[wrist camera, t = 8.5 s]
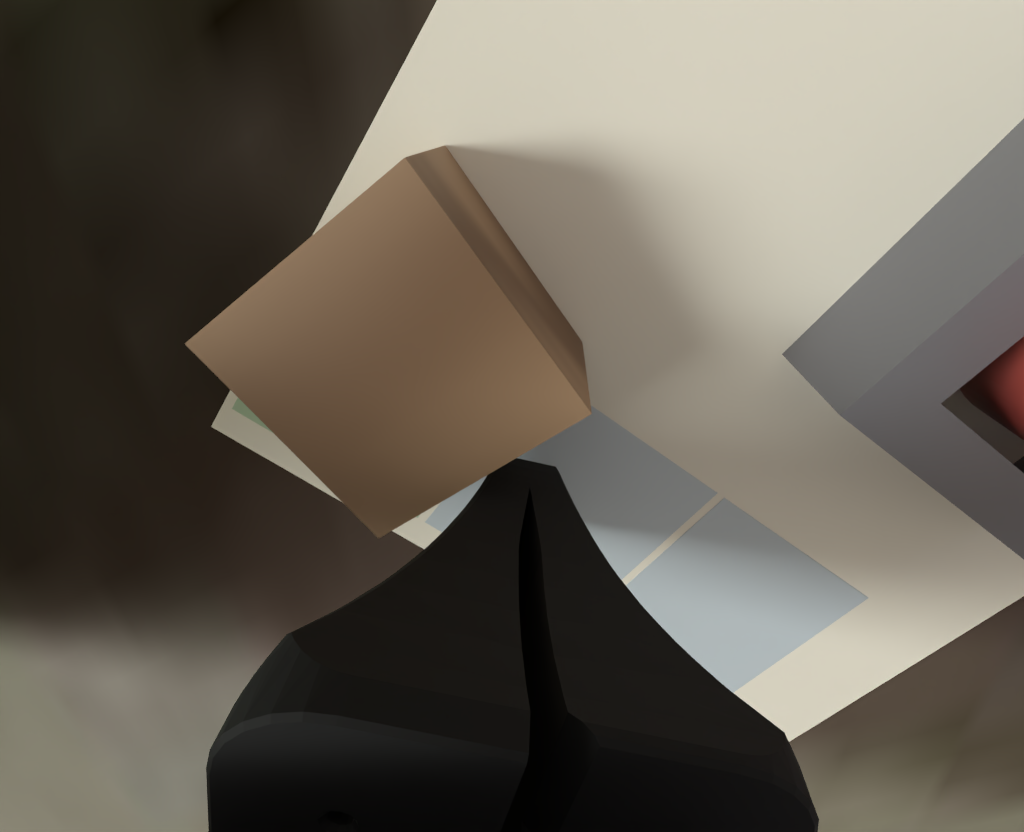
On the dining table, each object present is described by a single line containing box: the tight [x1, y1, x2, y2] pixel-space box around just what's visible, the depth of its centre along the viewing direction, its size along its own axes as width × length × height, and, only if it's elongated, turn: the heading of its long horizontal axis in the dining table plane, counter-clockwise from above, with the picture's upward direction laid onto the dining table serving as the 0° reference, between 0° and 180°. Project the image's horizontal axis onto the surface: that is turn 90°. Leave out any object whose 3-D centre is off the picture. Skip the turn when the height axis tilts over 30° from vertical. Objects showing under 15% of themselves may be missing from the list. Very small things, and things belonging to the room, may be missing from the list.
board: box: [211, 0, 1024, 741], centre depth 12 cm, size 17×15×1 cm
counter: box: [185, 145, 592, 538], centre depth 10 cm, size 4×4×3 cm
